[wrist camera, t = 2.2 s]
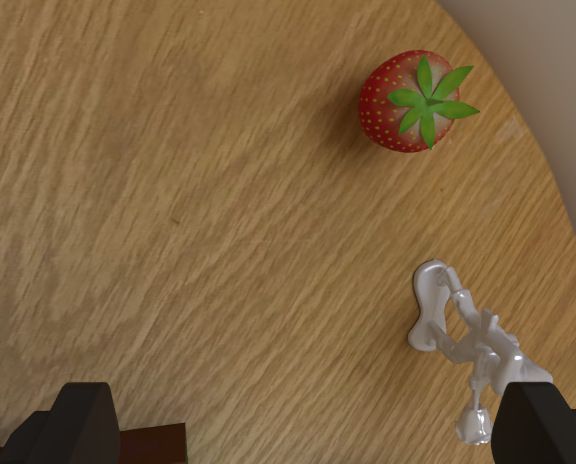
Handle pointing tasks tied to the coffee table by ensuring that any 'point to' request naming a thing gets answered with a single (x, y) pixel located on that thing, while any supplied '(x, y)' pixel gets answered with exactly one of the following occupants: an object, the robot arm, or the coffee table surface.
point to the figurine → (469, 345)
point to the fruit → (412, 101)
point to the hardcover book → (153, 445)
